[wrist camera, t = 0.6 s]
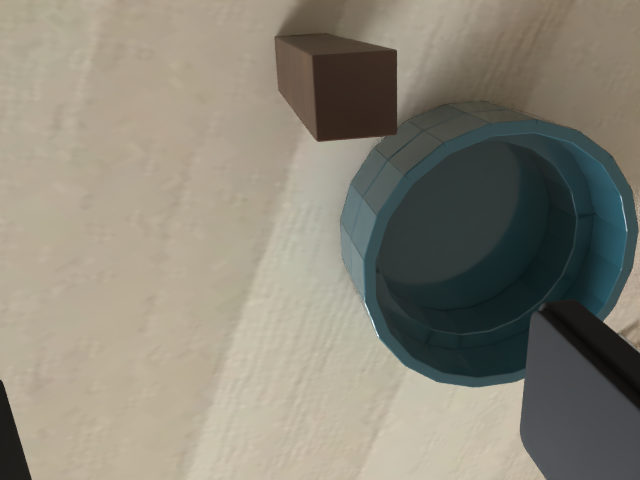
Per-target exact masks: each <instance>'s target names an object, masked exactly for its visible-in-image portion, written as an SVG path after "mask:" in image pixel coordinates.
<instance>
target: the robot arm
mask: <svg viewBox="0 0 640 480" xmlns="http://www.w3.org/2000/svg"><path fill="white" fill-rule="evenodd" d="M520 435H521V439H522V442H523V445H524V447H525V449H526V451H527V452H528V453H529V455H530V456H531V458H532V459H533V461H534V462H535V464H536V465H537V467H538V468H539V469H540V471H541V472H542V474H543V475H544V477H545V478H546V480H640V353H639V352H638V351H637V350H636V349H635V348H633V347H632V346H631V345H630V344H629V343H627V342H626V341H625V340H624V339H623V338H621V337H620V336H619V335H618V334H617V333H615V332H614V331H613V330H612V329H611V328H609V327H608V326H607V325H606V324H605V323H603V322H602V321H601V320H600V319H599V318H597V317H596V316H595V315H594V314H593V313H591V312H590V311H589V310H588V309H587V308H585V307H584V306H583V305H582V304H581V303H579V302H578V301H576V300H575V299H569V300H561V301H553V302H545V303H543V304H541V306H540V307H539V310H538V311H535V312H534V313H533V314H532V315H531V320H530V329H529V340H528V350H527V360H526V370H525V381H524V391H523V401H522V412H521V422H520ZM0 480H32V479H31V475H30V472H29V469H28V465H27V462H26V459H25V455H24V452H23V448H22V445H21V442H20V438H19V435H18V431H17V428H16V425H15V421H14V418H13V415H12V411H11V408H10V404H9V401H8V398H7V394H6V391H5V388H4V385H3V382H2V381H1V380H0Z"/></svg>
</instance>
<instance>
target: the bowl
mask: <svg viewBox="0 0 640 480" xmlns="http://www.w3.org/2000/svg"><path fill="white" fill-rule="evenodd" d="M340 220H341V221H340V228H341V253H342V259H343V262H344V264H345V267H346V269H347V272H348V274H349V276H350V279H351V281H352V284H353V286H354V289H355V291H356V293H357V295H358V297H359V299H360V301H361V303H362V305H363V307H364V309H365V311H366V313H367V315H368V317H369V319H370V321H371V323H372V326H373V328H374V330H375V332H376V334H377V336H378V337H379V339H380V340H381V341H382V342H383V343H384V344H385V345H386V347H387V348H388V349H389V350H390V351H391V352H392V353H393V354H394V355H395V356H396V357H397V358H398V359H399V360H400V362H401V363H402V364H403V365H405V366H406V367H408V368H410V369H412V370H414V371H416V372H418V373H420V374H422V375H424V376H426V377H428V378H430V379H432V380H434V381H436V382H439V383H446V384H453V385H460V386H467V387H474V388H475V387H484V386H491V385H498V384H505V383H512V382H517V381H519V380H521V379H524V378H525V370H526V360H527V350H528V340H529V329H530V320H531V315H532V314H533V313H534V312H535V311H538V310H539V307H540V306H541V304H543V303H545V302H553V301H561V300H569V299H575V300H576V301H578V302H579V303H581V304H582V305H583V306H584V307H585V308H587V309H588V310H589V311H590V312H591V313H593V314H594V315H595V316H596V317H597V318H599V319H600V320H601V321H602V322H603V321H604V320H605V318H606V317H607V316H608V315H609V314H610V312H611V311H612V310H613V309H614V308H613V307H615V305H616V303H617V301H618V299H619V297H620V295H621V292H622V290H623V288H624V286H625V284H626V282H627V279H628V277H629V275H630V273H631V271H632V270H631V269H633V262H634V256H635V250H636V243H637V237H638V222H637V216H636V210H635V204H634V198H633V192H632V190H631V187H630V185H629V184H628V182H627V180H626V179H625V177H624V175H623V174H622V172H621V170H620V168H619V167H618V165H617V163H616V162H615V160H614V158H613V157H612V156H611V154H610V153H608V152H607V151H606V150H604V149H603V148H602V147H600V146H599V145H598V144H596V143H595V142H594V141H592V140H591V139H590V138H588V137H587V136H586V135H584V134H583V133H582V132H580V131H578V130H576V129H573V128H570V127H567V126H564V125H561V124H559V123H556V122H553V121H550V120H547V119H544V118H541V117H538V116H535V115H532V114H529V113H526V112H523V111H520V110H516V109H513V108H509V107H505V106H502V105H498V104H494V103H491V102H487V101H479V102H466V103H454V104H446V105H442V106H440V107H437V108H435V109H433V110H430V111H428V112H425V113H423V114H421V115H418V116H416V117H413V118H411V119H409V120H407V121H405V122H404V123H403V124H402V125H401V126H399V127H398V128H397V135H393V136H387V137H386V138H385V139H384V140H383V141H381V142H380V143H379V144H378V145H377V146H375V148H373V150H372V151H371V153H370V154H369V156H368V157H367V159H366V160H365V162H364V163H363V165H362V166H361V168H360V170H359V171H358V173H357V174H356V176H355V177H354V179H353V180H352V183H351V184H350V188H349V191H348V195H347V198H346V202H345V205H344V208H343V212H342V215H341V219H340Z"/></svg>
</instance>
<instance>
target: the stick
mask: <svg viewBox="0 0 640 480" xmlns="http://www.w3.org/2000/svg"><path fill="white" fill-rule="evenodd" d="M275 50H276V64H277V77H278V90H279V92H280V93H281V94H282V96H283V97H284V98H285V100H286V101H287V102H288V104H289V105H290V106H291V108H292V109H293V110H294V112H295V113H296V114H297V116H298V117H299V118H300V120H301V121H302V122H303V124H304V125H305V126H306V128H307V129H308V131H309V132H310V133H311V135H312V136H313V137H314V139H315V140H316V141H317V142H322V141H334V140H346V139H357V138H369V137H381V136H393V135H397V51H396V50H395V49H390V48H386V47H382V46H378V45H373V44H369V43H365V42H361V41H356V40H352V39H348V38H344V37H339V36H335V35H331V34H327V33H324V34H308V35H291V36H276V37H275Z"/></svg>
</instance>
